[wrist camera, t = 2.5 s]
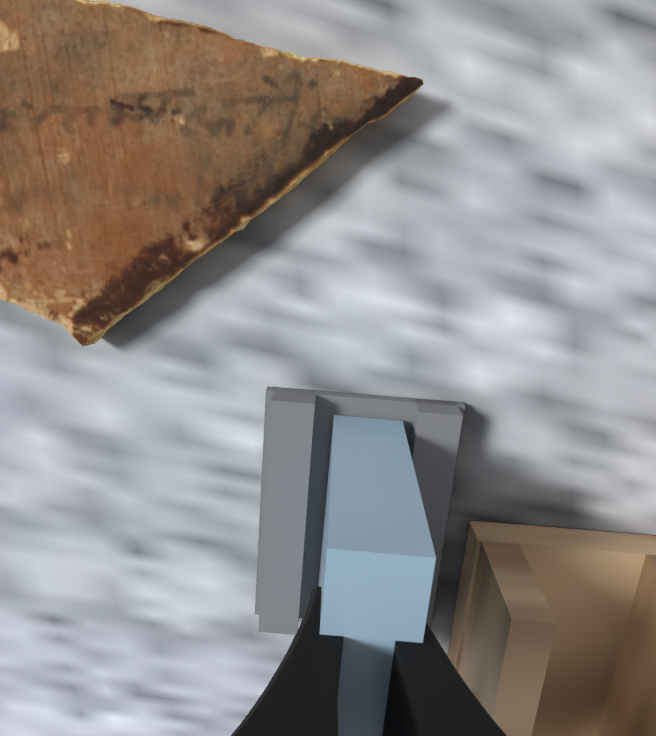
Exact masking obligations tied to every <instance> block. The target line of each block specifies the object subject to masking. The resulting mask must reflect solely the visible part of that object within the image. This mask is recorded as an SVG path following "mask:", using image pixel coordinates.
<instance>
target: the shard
mask: <svg viewBox="0 0 656 736" xmlns="http://www.w3.org/2000/svg"><path fill="white" fill-rule="evenodd" d="M422 85H423V81H422V79H420V78H415V77H406V76H403V75H400V74H397V73H394V72H391V71H379V70H375V69H372V68H369V67H365V66H361V65H357V64H353V63H350V62H346V61H343V60H332V59H321V58H310V57H302V56H299V55H297V54H294V53H292V52H284V51H281V50H277V49H273V48H268V47H264V46H258V45H256V44H254V43H249V42H245V41H243V40H239V39H234V38H233V37H231V36H229V35H227V34H226V33H223V32H219V31H217V30H214V29H212V28H209V27H206V26H203V25H198V24H193V23H189V22H185V21H181V20H174V19H167V18H163V17H159V16H155V15H151V14H149V13H146V12H144V11H141V10H139V9H136V8H133V7H131V6H124V5H121V4H115V3H110V2H107V1H105V0H104V1H89V0H0V299H2V300H4V301H7V302H10V303H14V304H17V305H19V306H21V307H23V308H24V309H26V310H28V311H30V312H32V313H35V314H37V315H40V316H42V317H44V318H46V319H47V320H51V321H53V322H56V323H58V324H61V325H62V326H63V327H64V328H65V329H67V330H68V331H69V332H70V334H71V335H72V336H73V338H74V339H76V340H77V341H78V342H79V343H80V344H81V345H82V346H86V345H90V344H95V343H96V342H97V341H98V340H99V339H100V338H101V337H102V336H103V335H104V334H105V333H106V332H107V331H108V329H109V328H111V327H112V326H113V325H115V324H116V323H117V322H118V321H119V320H121V319H122V318H123V317H124V315H126V314H128V313H129V312H131V311H132V310H133V309H135V308H136V307H138V306H139V305H141V304H143V303H144V302H146V301H147V300H148V299H149V298H150V297H151V296H152V295H153V294H155V293H157V292H159V291H161V290H162V289H163V287H164V286H165V285H167V284H168V283H169V282H170V281H172V280H173V279H174V278H176V277H177V276H178V275H179V274H180V273H181V272H182V271H183V270H184V269H186V268H187V267H188V266H189V265H190V264H191V263H192V262H193V261H194V260H196V259H197V258H199V257H201V256H204V255H205V254H206V253H207V252H209V251H210V250H211V249H212V248H214V247H215V246H216V245H217V244H219V243H221V242H223V241H224V240H225V239H227V238H228V237H229V236H231V235H232V234H233V233H235V232H237V231H240V230H243V229H244V228H245V227H246V225H247V224H248V223H249V221H250V220H251V219H253V218H254V217H256V216H258V215H259V214H260V213H262V212H263V211H265V210H266V209H268V208H269V207H270V206H272V205H273V204H274V203H275V202H277V201H278V200H279V199H280V198H282V197H283V196H284V195H286V194H287V193H288V192H290V191H291V190H292V189H294V188H295V187H296V186H297V185H298V184H299V183H300V182H301V181H302V180H303V179H304V178H305V177H306V176H307V175H309V174H310V173H312V172H313V171H314V170H315V169H316V168H318V167H319V166H321V165H322V164H323V163H324V162H325V161H326V160H327V159H328V158H329V157H330V156H332V155H333V154H334V153H335V152H336V151H337V149H338V148H340V147H341V146H342V145H344V144H345V143H347V141H348V140H349V138H350V137H351V136H352V135H354V134H355V133H357V132H358V131H359V130H360V129H361V128H363V127H364V126H365V125H366V124H368V123H371V122H375V121H378V120H380V119H383V118H385V117H386V116H387V115H388V114H389V113H390V112H391V111H392V110H393V109H395V108H396V107H397V106H399V105H400V104H402V103H403V102H404V101H406V100H407V99H408V98H410V97H411V96H412V95H413V94H414V93H415V92H416V91H417V90H418V89H419V88H420V87H421V86H422Z"/></svg>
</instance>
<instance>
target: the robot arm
mask: <svg viewBox="0 0 656 736" xmlns="http://www.w3.org/2000/svg"><path fill="white" fill-rule="evenodd" d="M320 612H321V587H319V586H317V587H315V588H314V589H313V590H311V595H310V600H309V603H308V607H307V610H306V612H305V615H304V617H303V620H302V622H301V625H300V627H299V629H298V631H297V633H296V635H295V637H294V639H293V641H292V644H291V646H290V648H289V650H288V652H287V653H286V655H285V657H284V659H283V661H282V662H281V664H280V666H279V667H278V669H277V671H276V672H275V674H274V676H273V677H272V679H271V681H270V682H269V684H268V686H267V687H266V689H265V690H264V692H263V693H262V695H261V696H260V698H259V699H258V701H257V702H256V704H255V705H254V706H253V708H252V709H251V710H250V712H249V713H248V715H247V716H246V717H245V719H244V720H243V721H242V723H241V724H240V725H239V726H238V728H237V729H236V730H235V731H234V733H233V734H232V735H231V736H338V688H339V678H340V669H341V659H342V650H343V640H344V636H334V635H322V634H320ZM382 736H507V735H506V734H505V733H504V732H503V731H502V730H501V728H500V727H499V726H498V725H497V724H496V722H495V721H494V720H493V719H492V717H491V716H490V715H489V714H488V712H487V711H486V710H485V709H484V707H483V706H482V705H481V703H480V702H479V701H478V699H477V698H476V697H475V695H474V694H473V693H472V691H471V690H470V689H469V687H468V686H467V684H466V683H465V682H464V680H463V679H462V677H461V676H460V674H459V673H458V671H457V670H456V668H455V667H454V665H453V664H452V662H451V661H450V659H449V658H448V656H447V655H446V653H445V652H444V650H443V648H442V647H441V645H440V644H439V642H438V640H437V639H436V637H435V635H434V634H433V632H432V630H431V629H430V627H429V625H428V623H427V622H426V626H425V632H424V638H423V643H417V642H405V641H395V647H394V654H393V661H392V669H391V676H390V683H389V690H388V697H387V705H386V712H385V719H384V726H383V734H382Z"/></svg>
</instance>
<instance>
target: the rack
mask: <svg viewBox="0 0 656 736" xmlns="http://www.w3.org/2000/svg"><path fill="white" fill-rule="evenodd" d="M447 656H448V658H449V659H450V661H451V662H452V664H453V665H454V667H455V668H456V670H457V671H458V673H459V674H460V676H461V677H462V679H463V680H464V682H465V683H466V684H467V686H468V687H469V689H470V690H471V691H472V693H473V694H474V695H475V697H476V698H477V699H478V701H479V702H480V703H481V705H482V706H483V707H484V709H485V710H486V711H487V712H488V714H489V715H490V716H491V717H492V719H493V720H494V721H495V722H496V724H497V725H498V726H499V727H500V728H501V730H502V731H503V732H504V733H505V734H506V735H507V736H656V536H655V535H643V534H631V533H618V532H606V531H594V530H581V529H569V528H556V527H544V526H532V525H519V524H507V523H495V522H482V521H470V524H469V530H468V536H467V542H466V548H465V553H464V559H463V565H462V571H461V577H460V583H459V589H458V595H457V601H456V607H455V613H454V619H453V625H452V631H451V637H450V643H449V649H448V655H447Z"/></svg>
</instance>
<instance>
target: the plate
mask: <svg viewBox="0 0 656 736" xmlns="http://www.w3.org/2000/svg"><path fill="white" fill-rule="evenodd" d="M435 562H436V555H435V551H434V547H433V543H432V539H431V535H430V531H429V527H428V523H427V519H426V515H425V510H424V506H423V502H422V498H421V494H420V490H419V486H418V482H417V478H416V474H415V469H414V465H413V461H412V457H411V453H410V449H409V445H408V441H407V437H406V433H405V429H404V424H403V421H401V420H389V419H377V418H366V417H354V416H342V415H334V418H333V429H332V440H331V451H330V462H329V473H328V484H327V495H326V506H325V517H324V528H323V539H322V550H321V561H320V572H319V583H318V586H319V587H321V612H320V634H322V635H334V636H344V640H343V650H342V659H341V669H340V678H339V688H338V736H382V734H383V726H384V719H385V712H386V705H387V697H388V690H389V683H390V676H391V669H392V661H393V654H394V647H395V641H405V642H417V643H423V638H424V632H425V626H426V619H427V613H428V606H429V600H430V594H431V587H432V581H433V574H434V568H435Z"/></svg>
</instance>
